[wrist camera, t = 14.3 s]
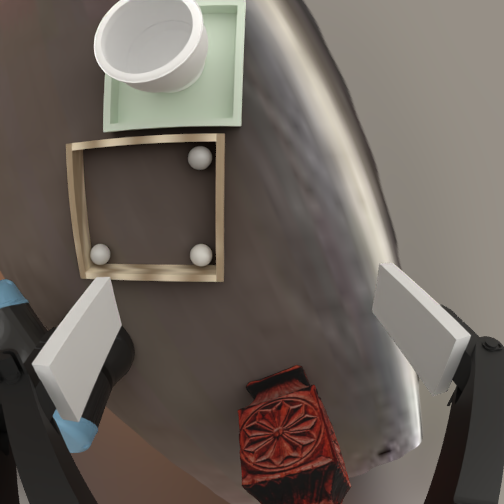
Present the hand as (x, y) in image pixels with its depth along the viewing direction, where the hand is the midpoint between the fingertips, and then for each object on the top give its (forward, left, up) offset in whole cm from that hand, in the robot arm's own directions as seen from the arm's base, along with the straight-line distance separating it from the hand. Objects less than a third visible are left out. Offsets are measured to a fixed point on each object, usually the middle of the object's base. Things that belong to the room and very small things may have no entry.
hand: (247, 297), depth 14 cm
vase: (+9, -38, -30) cm, 50 cm away
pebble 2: (-5, -9, -30) cm, 32 cm away
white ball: (-21, -9, -30) cm, 38 cm away
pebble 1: (-5, +4, -30) cm, 31 cm away
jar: (-9, +18, -30) cm, 36 cm away
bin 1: (-9, +18, -30) cm, 36 cm away
